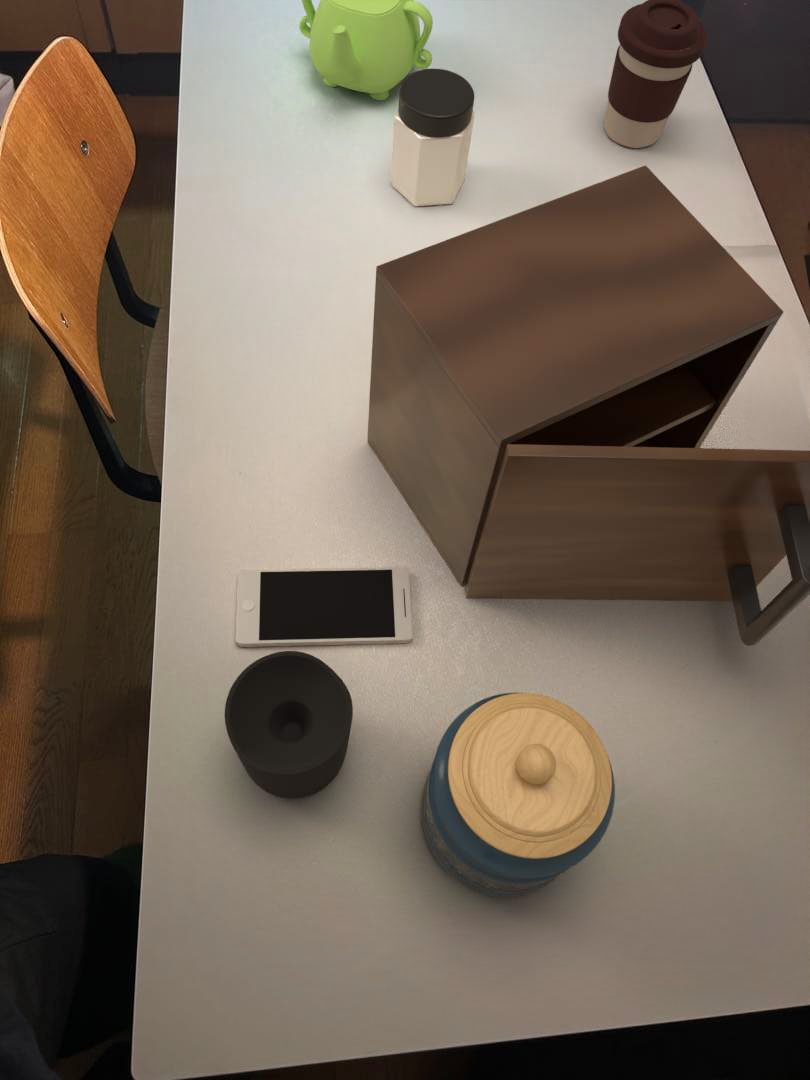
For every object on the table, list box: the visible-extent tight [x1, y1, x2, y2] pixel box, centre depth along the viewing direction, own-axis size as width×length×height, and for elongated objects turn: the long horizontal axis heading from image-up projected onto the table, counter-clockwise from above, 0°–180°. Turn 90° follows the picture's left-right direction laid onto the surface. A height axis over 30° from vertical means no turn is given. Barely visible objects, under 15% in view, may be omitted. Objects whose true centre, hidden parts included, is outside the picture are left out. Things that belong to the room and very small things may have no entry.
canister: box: [420, 692, 616, 898], centre depth 68 cm, size 13×13×18 cm
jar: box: [389, 68, 476, 207], centre depth 105 cm, size 9×8×12 cm
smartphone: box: [235, 566, 414, 648], centre depth 83 cm, size 7×15×1 cm, turn 93°
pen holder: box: [224, 650, 354, 799], centre depth 73 cm, size 9×9×10 cm
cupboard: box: [367, 164, 784, 588], centre depth 82 cm, size 18×26×24 cm
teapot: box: [298, 0, 434, 101], centre depth 113 cm, size 16×14×13 cm
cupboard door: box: [464, 444, 810, 647], centre depth 74 cm, size 8×26×24 cm, turn 91°
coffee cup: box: [603, 0, 708, 149], centre depth 110 cm, size 10×10×15 cm
